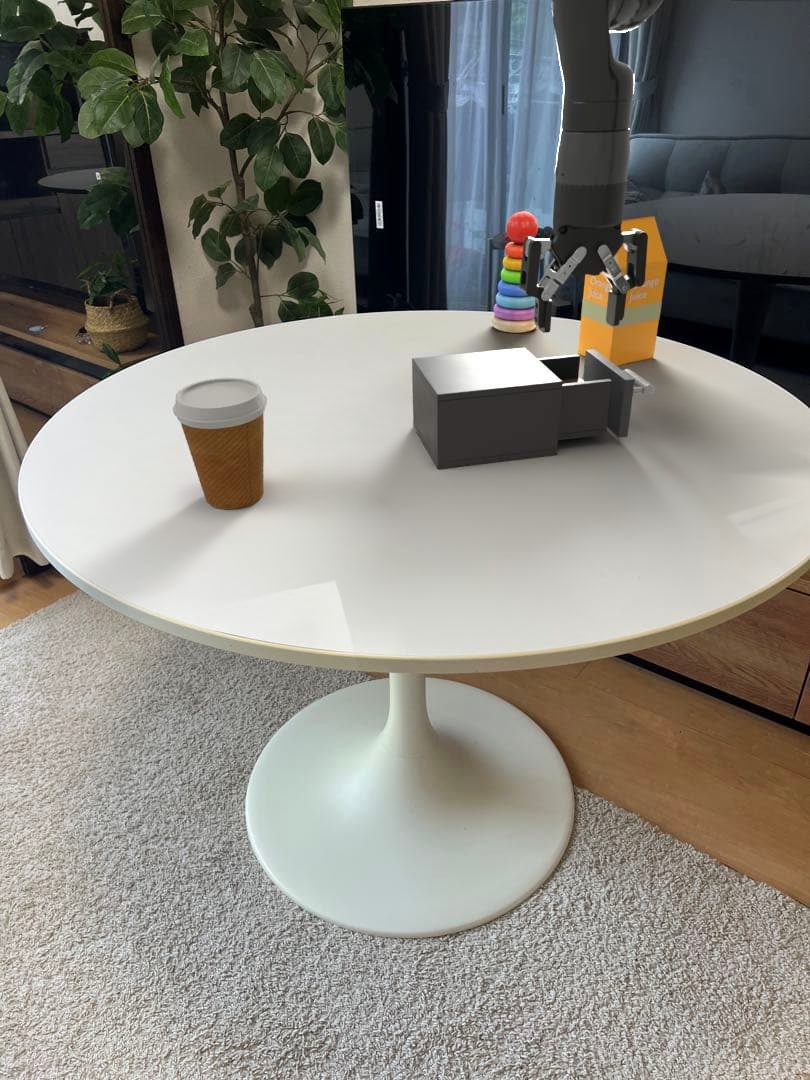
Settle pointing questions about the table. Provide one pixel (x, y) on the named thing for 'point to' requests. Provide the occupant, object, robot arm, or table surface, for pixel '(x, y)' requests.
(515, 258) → the stacking toy
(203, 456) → the disposable coffee cup
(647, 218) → the orange juice
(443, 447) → the cabinet
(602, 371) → the drawer
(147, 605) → the table surface
